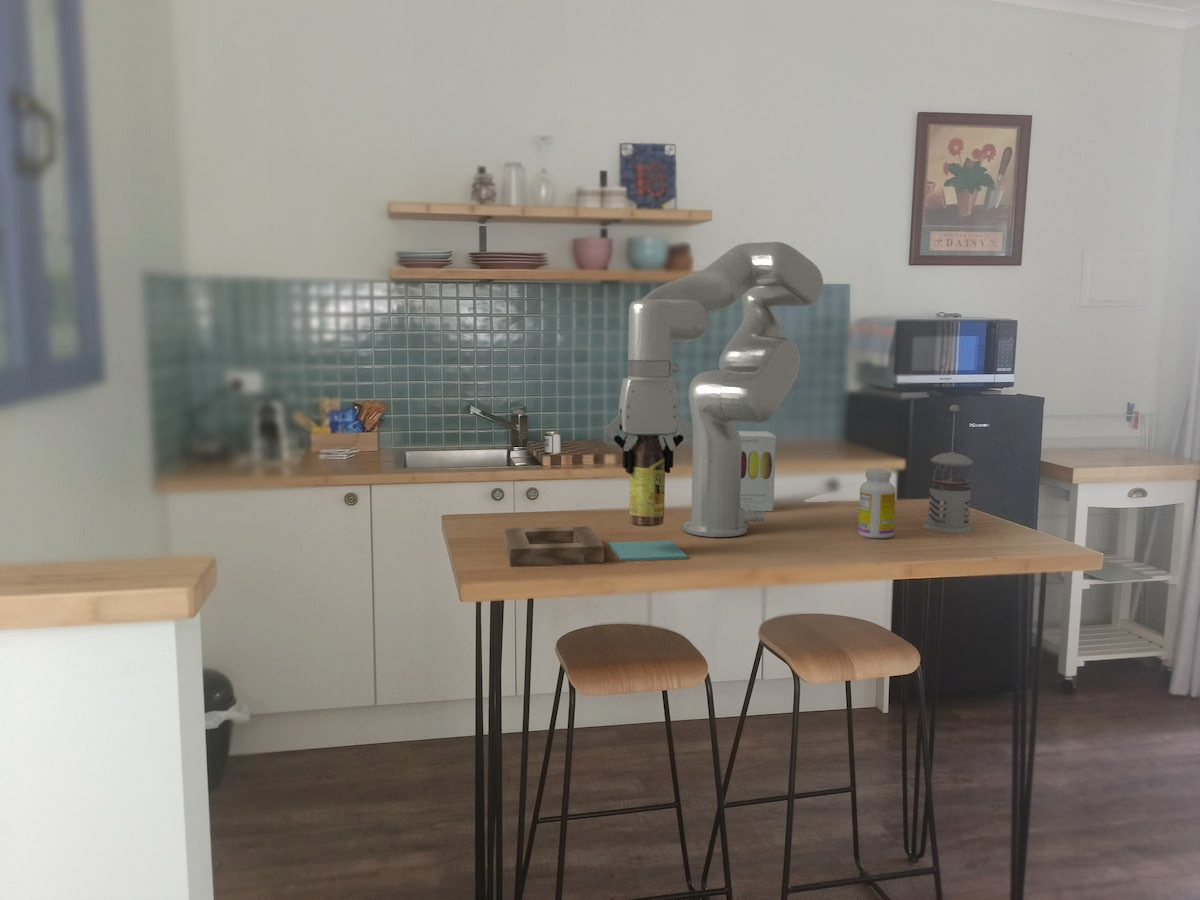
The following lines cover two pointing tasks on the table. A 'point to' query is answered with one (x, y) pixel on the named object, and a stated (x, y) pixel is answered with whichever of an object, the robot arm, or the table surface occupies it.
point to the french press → (949, 494)
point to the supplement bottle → (877, 505)
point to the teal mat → (647, 550)
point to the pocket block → (553, 546)
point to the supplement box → (757, 470)
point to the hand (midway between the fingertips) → (647, 471)
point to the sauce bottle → (647, 482)
